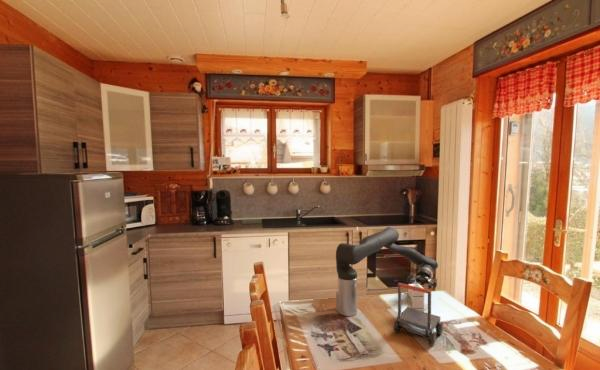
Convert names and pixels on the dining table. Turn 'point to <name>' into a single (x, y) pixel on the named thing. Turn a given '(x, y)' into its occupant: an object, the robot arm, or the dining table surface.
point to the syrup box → (416, 298)
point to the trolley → (418, 317)
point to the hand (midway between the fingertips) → (419, 285)
